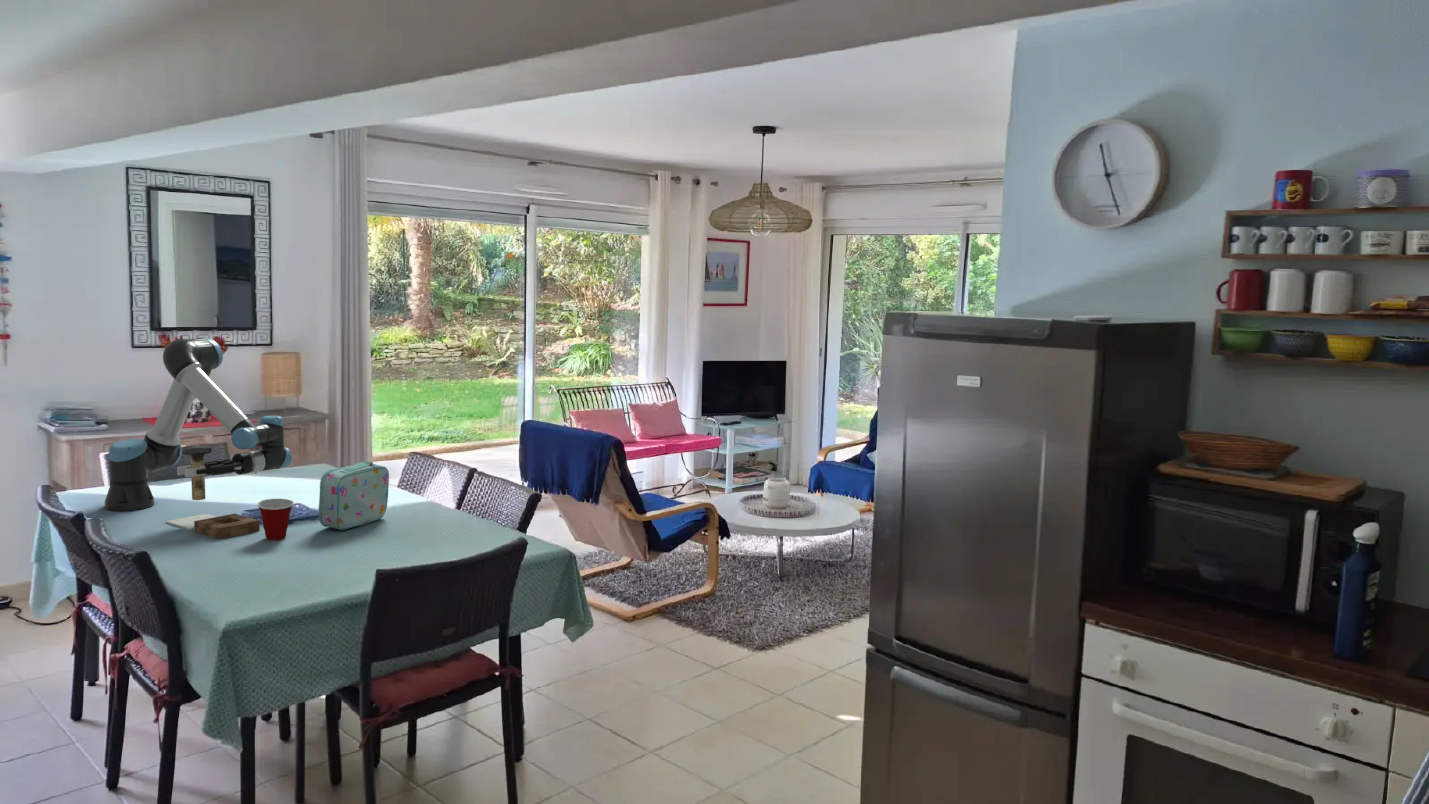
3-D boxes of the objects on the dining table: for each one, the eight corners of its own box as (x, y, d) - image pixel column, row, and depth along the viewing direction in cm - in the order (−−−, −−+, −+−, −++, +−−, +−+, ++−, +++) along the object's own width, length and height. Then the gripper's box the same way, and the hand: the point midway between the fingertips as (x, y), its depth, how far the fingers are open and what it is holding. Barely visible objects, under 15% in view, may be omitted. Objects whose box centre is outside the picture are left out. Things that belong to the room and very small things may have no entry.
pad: (166, 522, 323) (165, 521, 323) (206, 515, 335) (206, 513, 335) (189, 530, 316) (189, 528, 316) (229, 522, 328) (229, 520, 328)
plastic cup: (260, 544, 304) (259, 507, 302) (255, 535, 313) (254, 500, 311) (296, 540, 309) (296, 504, 308) (291, 532, 318) (291, 497, 317)
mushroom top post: (178, 499, 323) (176, 447, 321) (204, 494, 331) (202, 444, 328) (193, 503, 318) (191, 451, 316) (219, 498, 326) (217, 447, 324)
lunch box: (368, 513, 347) (368, 455, 345) (392, 517, 344) (392, 458, 341) (315, 530, 322) (314, 468, 320) (339, 534, 319) (339, 471, 316)
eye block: (194, 531, 314) (194, 521, 314) (234, 523, 326) (234, 513, 326) (219, 539, 307) (218, 528, 307) (259, 530, 319) (259, 520, 318)
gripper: (262, 476, 334) (196, 486, 315) (233, 469, 343) (168, 479, 323) (262, 455, 334) (196, 464, 314) (233, 449, 342) (167, 458, 323)
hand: (182, 472), depth 319 cm, fingers closed on mushroom top post, 4 cm apart
